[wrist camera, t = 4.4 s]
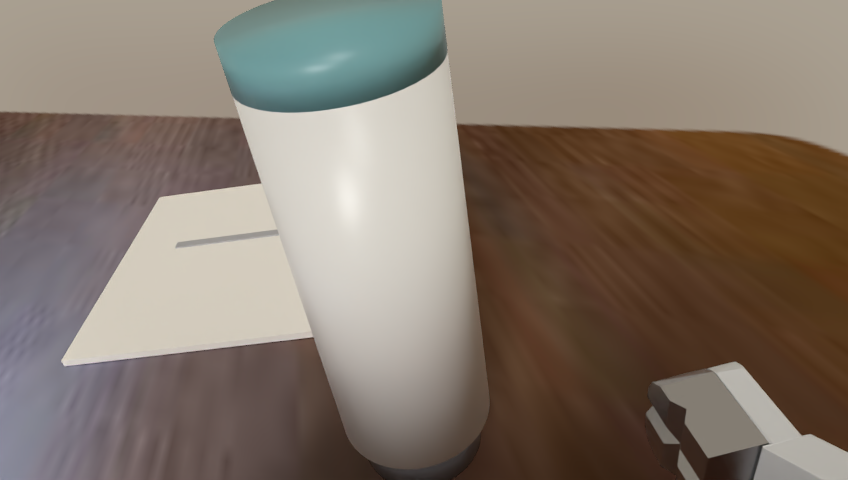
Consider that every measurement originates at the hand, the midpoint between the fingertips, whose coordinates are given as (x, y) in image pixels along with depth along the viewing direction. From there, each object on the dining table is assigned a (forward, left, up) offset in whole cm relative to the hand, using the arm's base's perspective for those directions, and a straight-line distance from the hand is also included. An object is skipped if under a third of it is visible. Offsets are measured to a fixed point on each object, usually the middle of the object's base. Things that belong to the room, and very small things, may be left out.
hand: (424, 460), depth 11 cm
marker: (-1, +6, -7) cm, 9 cm away
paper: (-7, +17, -7) cm, 20 cm away
